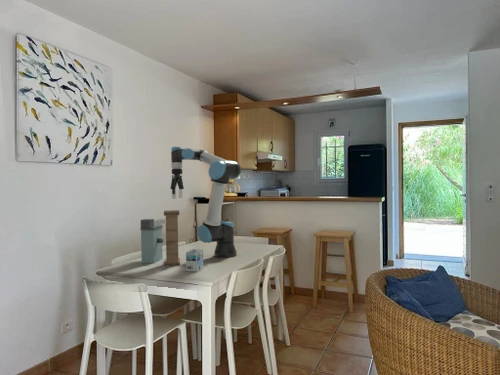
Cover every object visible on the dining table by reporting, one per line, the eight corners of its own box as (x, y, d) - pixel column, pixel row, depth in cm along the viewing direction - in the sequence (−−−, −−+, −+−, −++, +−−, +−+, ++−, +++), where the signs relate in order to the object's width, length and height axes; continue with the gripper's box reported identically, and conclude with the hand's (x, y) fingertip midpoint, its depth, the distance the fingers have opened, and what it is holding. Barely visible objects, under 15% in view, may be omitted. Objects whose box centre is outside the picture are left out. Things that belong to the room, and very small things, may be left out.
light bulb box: (197, 272, 204) (197, 252, 204) (185, 271, 206) (185, 252, 206) (203, 267, 215) (203, 249, 215) (192, 267, 216) (192, 248, 216)
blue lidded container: (167, 258, 244) (166, 225, 244) (158, 263, 230) (157, 227, 230) (150, 258, 246) (150, 225, 246) (140, 263, 231) (140, 227, 231)
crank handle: (149, 228, 228) (149, 219, 228) (140, 228, 229) (140, 219, 229) (166, 223, 256) (166, 216, 256) (158, 223, 257) (158, 216, 257)
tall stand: (180, 265, 223) (179, 211, 223) (164, 266, 221) (163, 212, 221) (179, 260, 238) (178, 210, 238) (165, 261, 236) (164, 210, 236)
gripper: (177, 169, 279) (178, 197, 279) (165, 167, 254) (166, 199, 254) (187, 169, 278) (188, 197, 278) (176, 167, 253) (176, 198, 253)
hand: (177, 198), depth 266 cm, fingers open, 13 cm apart
